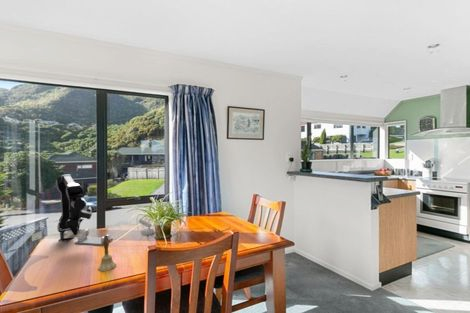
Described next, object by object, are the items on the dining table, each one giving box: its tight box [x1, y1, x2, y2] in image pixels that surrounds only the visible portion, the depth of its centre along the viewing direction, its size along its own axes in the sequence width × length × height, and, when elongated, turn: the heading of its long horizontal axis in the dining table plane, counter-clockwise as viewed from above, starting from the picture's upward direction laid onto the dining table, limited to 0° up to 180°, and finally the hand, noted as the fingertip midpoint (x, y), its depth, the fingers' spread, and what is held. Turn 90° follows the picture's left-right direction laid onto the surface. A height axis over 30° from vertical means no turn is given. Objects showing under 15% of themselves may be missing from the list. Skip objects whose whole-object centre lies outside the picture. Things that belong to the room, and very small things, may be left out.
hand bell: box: [97, 234, 117, 272], centre depth 134 cm, size 8×8×16 cm
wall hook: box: [138, 218, 155, 236], centre depth 186 cm, size 9×10×10 cm
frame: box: [64, 228, 90, 239], centre depth 156 cm, size 12×4×3 cm, turn 109°
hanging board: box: [74, 234, 114, 246], centre depth 170 cm, size 19×10×4 cm, turn 79°
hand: (76, 233), depth 156 cm, fingers closed on frame, 4 cm apart
